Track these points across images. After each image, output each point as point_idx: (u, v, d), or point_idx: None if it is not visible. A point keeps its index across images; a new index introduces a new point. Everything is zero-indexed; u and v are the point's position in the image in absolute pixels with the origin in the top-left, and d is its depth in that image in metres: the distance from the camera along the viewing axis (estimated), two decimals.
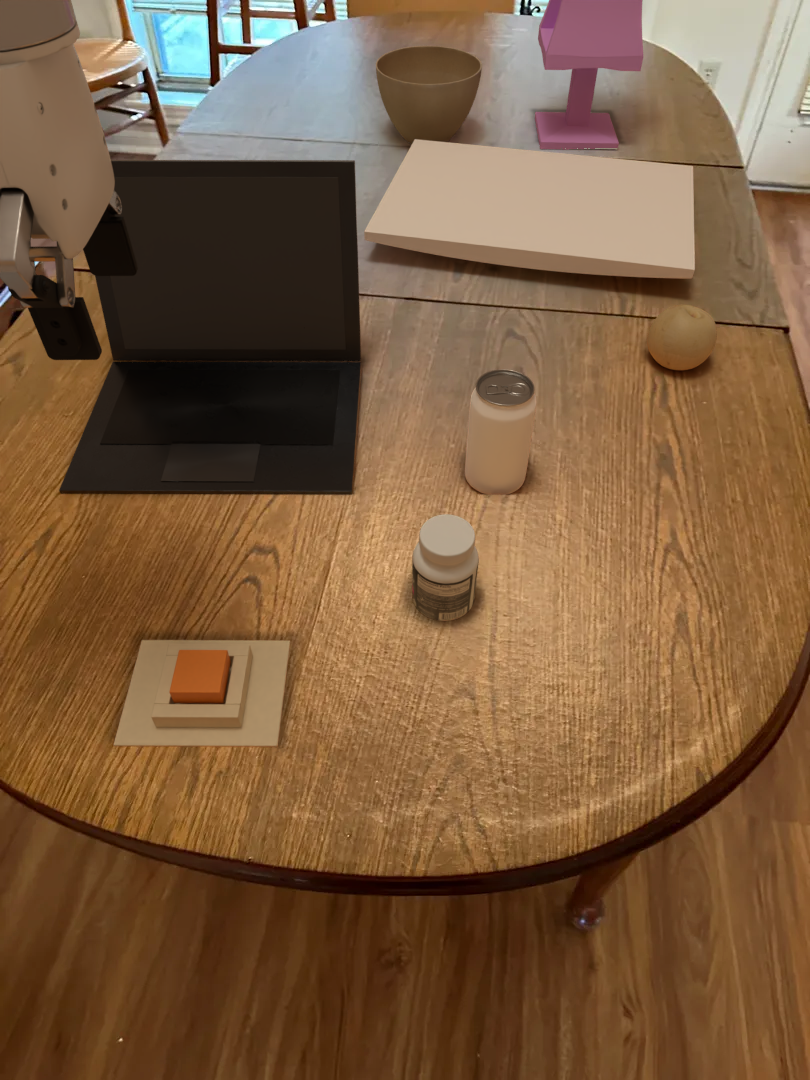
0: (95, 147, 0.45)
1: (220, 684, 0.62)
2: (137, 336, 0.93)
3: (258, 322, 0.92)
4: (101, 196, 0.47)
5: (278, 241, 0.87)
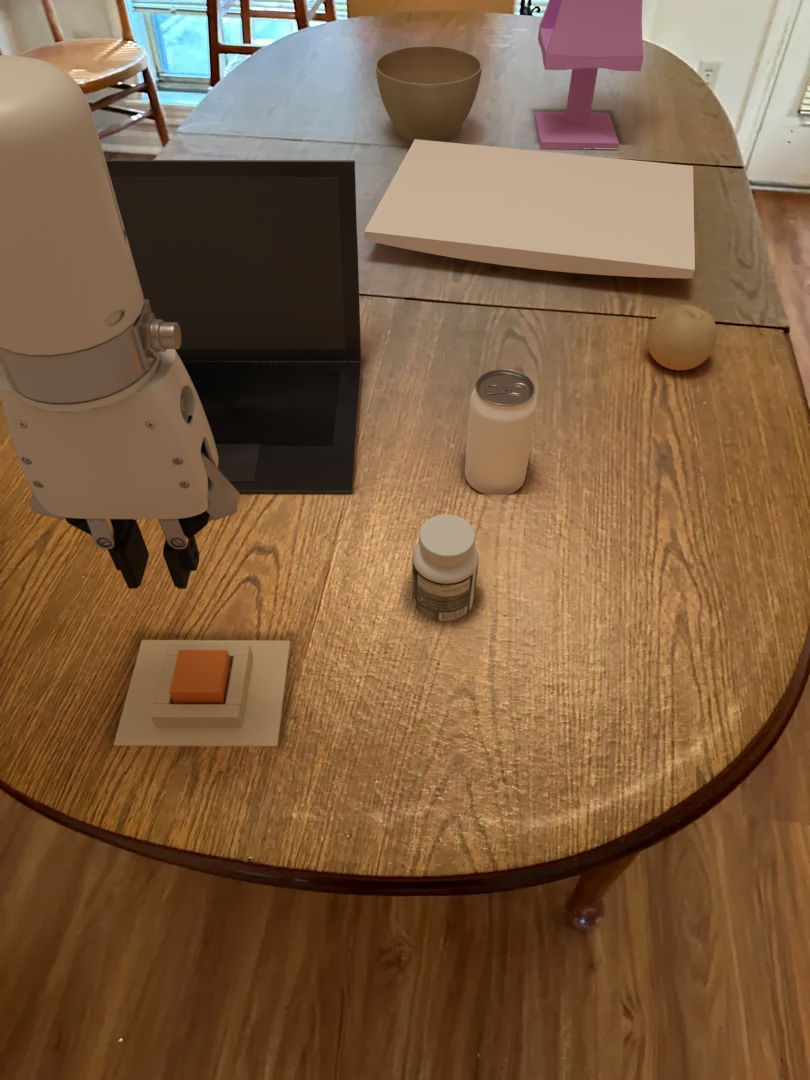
0: (139, 481, 0.44)
1: (220, 684, 0.62)
2: None
3: (258, 322, 0.92)
4: (138, 509, 0.46)
5: (278, 241, 0.87)
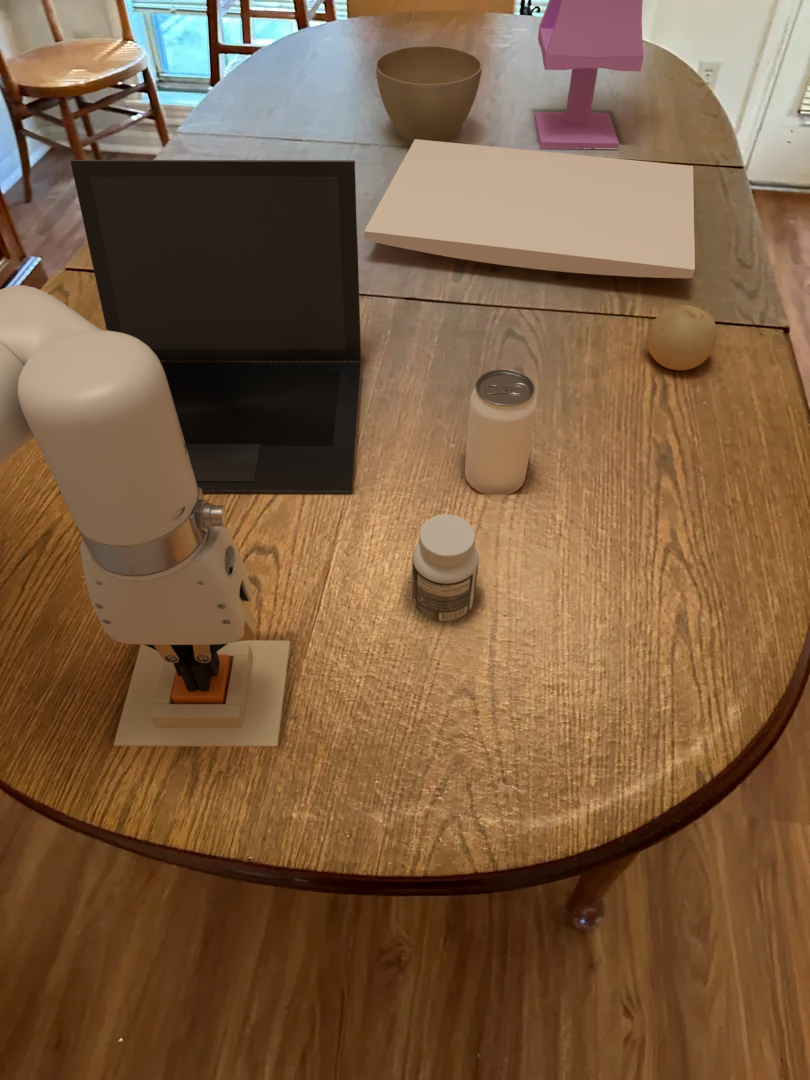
0: (190, 620, 0.54)
1: (222, 688, 0.63)
2: (137, 336, 0.93)
3: (258, 322, 0.92)
4: (187, 638, 0.56)
5: (278, 241, 0.87)
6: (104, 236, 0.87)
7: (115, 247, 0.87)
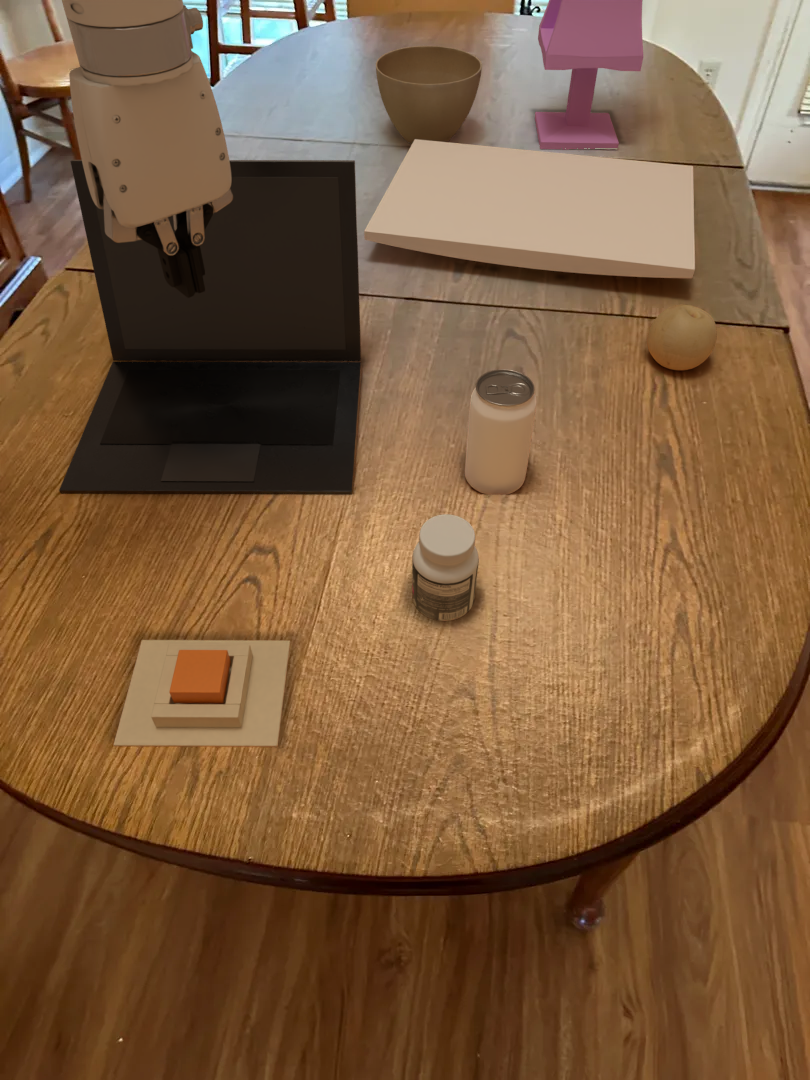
0: (195, 159, 0.58)
1: (220, 684, 0.62)
2: (137, 336, 0.93)
3: (258, 322, 0.92)
4: (192, 194, 0.60)
5: (278, 241, 0.87)
6: (104, 236, 0.87)
7: (115, 247, 0.87)
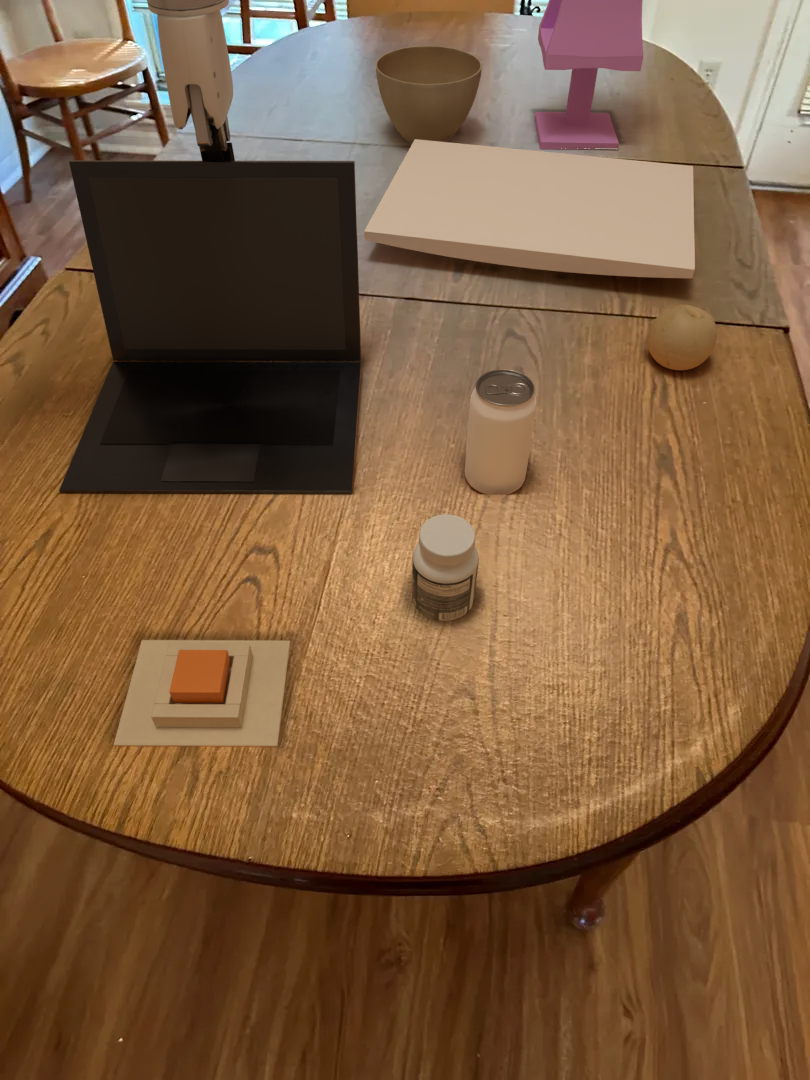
0: (228, 67, 0.80)
1: (220, 684, 0.62)
2: (137, 336, 0.93)
3: (258, 322, 0.92)
4: (229, 96, 0.81)
5: (278, 242, 0.87)
6: (103, 237, 0.86)
7: (115, 247, 0.87)
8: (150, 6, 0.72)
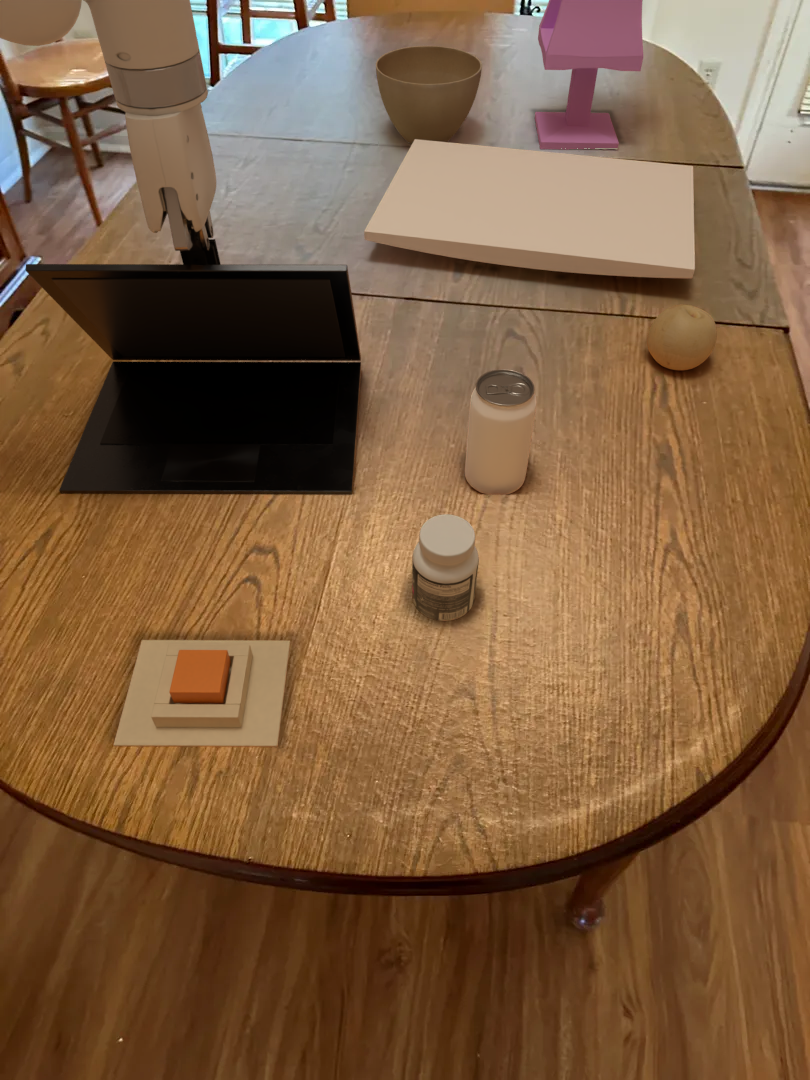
0: (209, 160, 0.71)
1: (220, 684, 0.62)
2: (133, 350, 0.92)
3: (254, 345, 0.90)
4: (211, 191, 0.72)
5: (268, 309, 0.81)
6: (80, 308, 0.80)
7: (94, 312, 0.82)
8: (118, 102, 0.64)
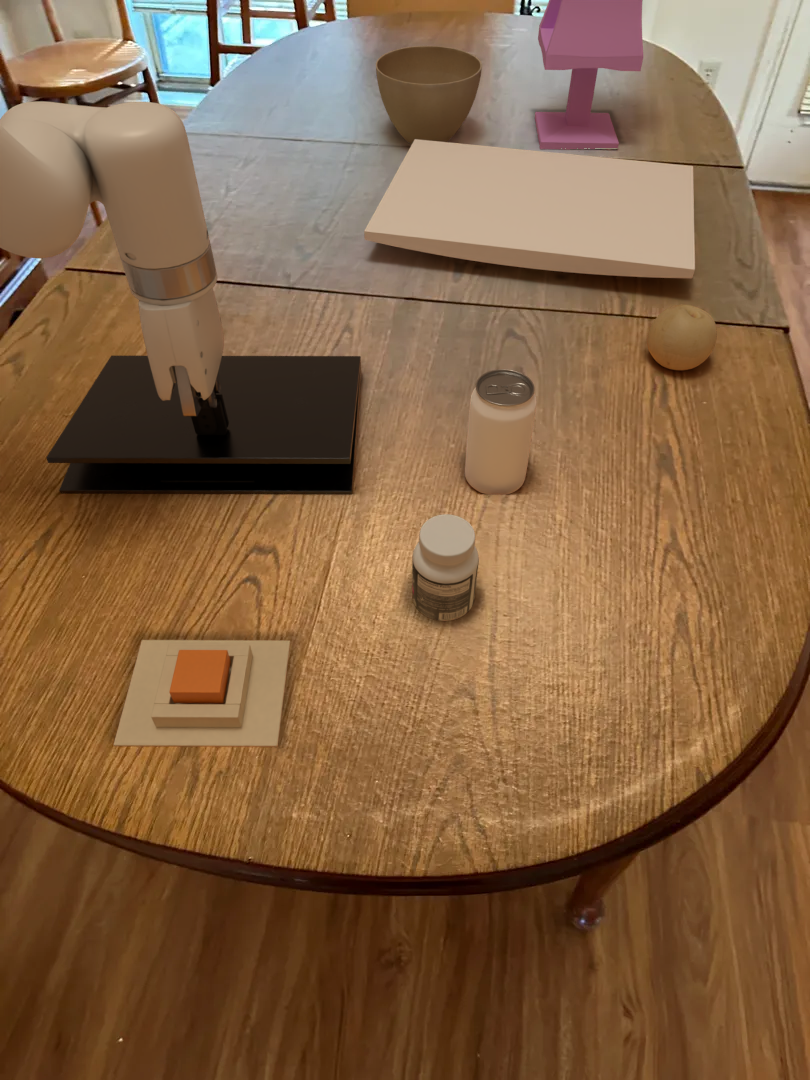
0: (218, 328, 0.74)
1: (220, 684, 0.62)
2: None
3: None
4: (219, 355, 0.75)
5: None
6: None
7: None
8: (131, 290, 0.67)
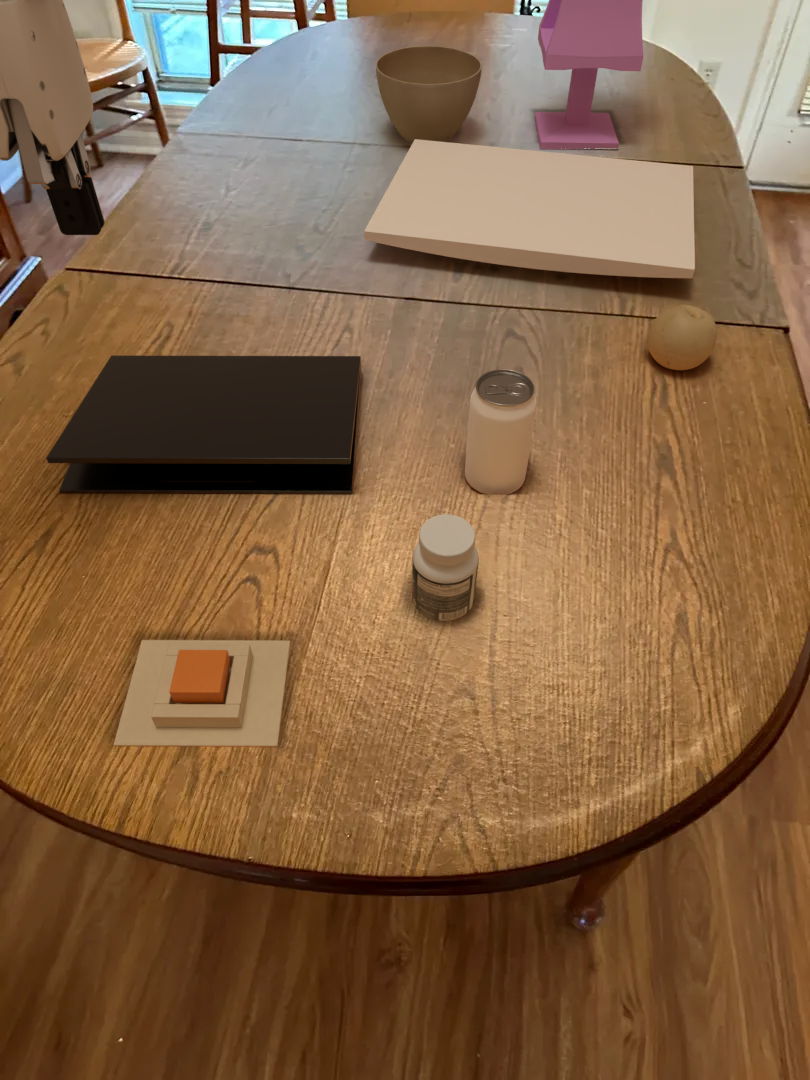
0: (76, 75, 0.57)
1: (220, 684, 0.62)
2: None
3: None
4: (81, 115, 0.59)
5: None
6: None
7: None
8: None
